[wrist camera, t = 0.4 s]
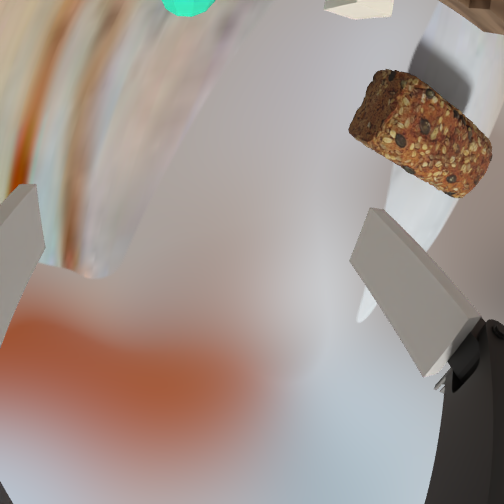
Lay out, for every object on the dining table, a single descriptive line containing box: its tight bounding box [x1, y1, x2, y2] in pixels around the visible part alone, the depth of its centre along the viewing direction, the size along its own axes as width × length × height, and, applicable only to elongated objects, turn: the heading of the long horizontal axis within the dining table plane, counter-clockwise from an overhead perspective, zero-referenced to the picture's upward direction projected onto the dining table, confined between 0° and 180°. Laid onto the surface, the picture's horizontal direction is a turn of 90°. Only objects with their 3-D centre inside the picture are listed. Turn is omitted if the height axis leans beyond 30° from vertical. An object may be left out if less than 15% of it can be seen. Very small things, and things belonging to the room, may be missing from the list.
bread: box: [349, 69, 492, 199], centre depth 34 cm, size 19×11×10 cm, turn 67°
